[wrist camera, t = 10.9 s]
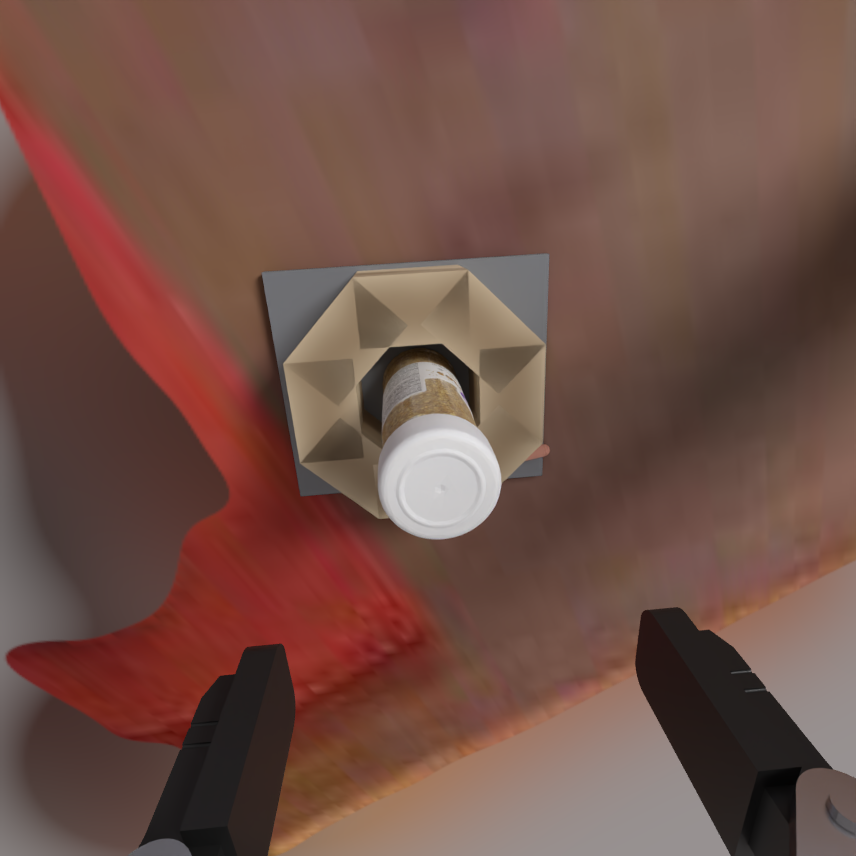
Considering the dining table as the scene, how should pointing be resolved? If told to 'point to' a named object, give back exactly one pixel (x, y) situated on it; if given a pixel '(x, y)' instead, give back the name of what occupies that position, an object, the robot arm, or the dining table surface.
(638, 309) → the dining table surface
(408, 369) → the sprinkles bottle
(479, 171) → the dining table surface
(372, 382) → the mat
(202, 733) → the robot arm
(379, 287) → the octagonal faceted ring
